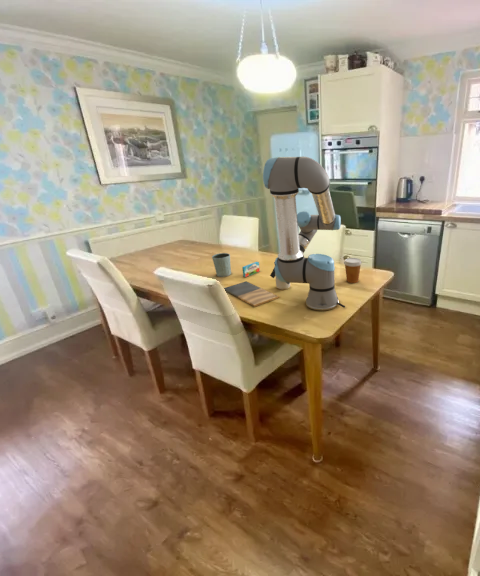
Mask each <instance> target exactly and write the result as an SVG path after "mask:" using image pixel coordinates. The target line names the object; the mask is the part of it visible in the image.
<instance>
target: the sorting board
mask: <svg viewBox="0 0 480 576" xmlns="http://www.w3.org/2000/svg"><path fill="white" fill-rule="evenodd" d="M223 288H224V289H225V291H224V292H226V293H227V294H230V295H231V296H234V297H235V298H237V299H239V300H241V301H243V302H245V303H247V304H248V305H250V306H252V307H254V308H256V307H258V306H261V305H264V304H266V303H269V302H272V301H274V300H276V299H279V295H277V294H275V293H273V292H270V291H268V290H266V289H264V288H262V287H259V286H258V285H255V284H253V283H251V282H248V281H247V280H246V281H242V282H240V283H235V284H233V285H229V286H225V287H223Z"/></svg>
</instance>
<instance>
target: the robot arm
mask: <svg viewBox="0 0 480 576" xmlns="http://www.w3.org/2000/svg"><path fill="white" fill-rule="evenodd" d="M262 172H263V173H262V182H263V185H264V187H265V189H267V190H269V194H270V196H272V197H273V198H274V205H275V213H276V221H277V231H278V238H279V239H278V241H279V248H280V252H279V253H278V254H277V257H276V258H275V260H274V263H273V264H274V267H273V269H272V271H271V273H270V275H269V276H270V277H271V278H272V279H275V278H276V277H277V278H278V280H280V281H281V282H286V283H287V284H289V283H290V284H308V286H309V288H308V289H309V290H308V293H307V297H306V300H305V304H306V307H307V308H308V309H310V310H313V311H318V312H326V311H332V310H334V309H336V308H337V307H338V306H340V307H341V308H344V309H345V308H346V305H344V304H342V303H340V302H339V301H340V300H339V297H338V295H337V294H338V293H337V292H336V289H335V285H336V284H335V281H336V280H335V270H336V268H335V260H334V258H333V257H331V256H329V255H327V254H323V253H312V254H309V255H308V256H307V257H305V254H304V253H305V251H306V249H307V248H308V247H309V245H310V243H311V241H312V240H313V238H314V236H315V235H316V233H317V232H318V231H339V230H340V229H341V227H342V226H341V225H342V221H341V220H342V217H341V215H340V214H336V212H335V208H334V205H333V201H332V197H331V192H330V186H331V181H330V176H329V175H328V173H327V171H326V170H325V168H324V167H323V165H321V164H320V163H319V162H317V161H316V160H314V159H313V158H311V157H308V156H275V157H270V158H268V159H267V160H266V161H265V163H264V167H263V171H262ZM300 189H307V190H308V192H309V193H310V194H311V196H312V198H313V202H314V204H315V207H316V210H317V213H318V214H311V213H309V212H308V211H306V210H301V211H299V212H298V209H297V199H296V196H297V195H298V194H299V192H300V191H299V190H300ZM299 230H300V231H299ZM275 274H276V277H275Z"/></svg>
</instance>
